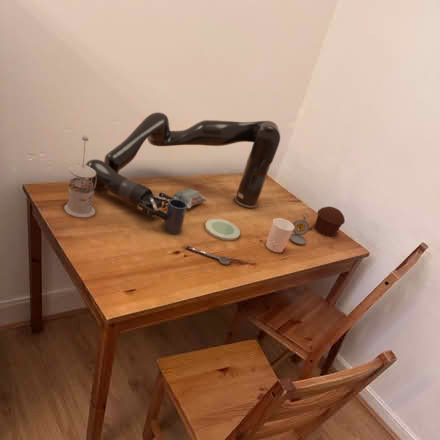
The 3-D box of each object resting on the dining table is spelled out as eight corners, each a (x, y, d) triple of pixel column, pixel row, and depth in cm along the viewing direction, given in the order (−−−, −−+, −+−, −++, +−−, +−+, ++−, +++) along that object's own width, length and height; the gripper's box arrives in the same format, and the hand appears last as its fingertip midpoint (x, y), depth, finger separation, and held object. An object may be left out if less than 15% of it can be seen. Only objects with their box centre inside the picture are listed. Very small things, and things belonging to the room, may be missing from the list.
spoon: (186, 245, 144) (187, 242, 143) (230, 260, 144) (231, 258, 143) (183, 250, 141) (184, 248, 140) (228, 266, 141) (229, 264, 140)
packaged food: (206, 205, 170) (208, 193, 167) (187, 212, 161) (190, 201, 158) (188, 195, 172) (191, 184, 170) (169, 202, 164) (172, 190, 161)
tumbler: (166, 222, 152) (171, 197, 146) (183, 228, 152) (189, 203, 146) (160, 230, 147) (166, 204, 141) (177, 236, 147) (184, 210, 141)
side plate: (209, 217, 163) (210, 214, 162) (242, 228, 163) (242, 226, 162) (201, 232, 153) (201, 230, 152) (235, 244, 152) (236, 242, 152)
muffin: (337, 228, 185) (347, 208, 179) (338, 241, 176) (349, 220, 170) (311, 220, 185) (320, 199, 179) (310, 232, 176) (320, 210, 170)
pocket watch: (294, 246, 163) (304, 223, 157) (283, 233, 168) (292, 211, 162) (311, 245, 167) (321, 223, 161) (299, 233, 173) (308, 211, 167)
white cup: (286, 246, 161) (296, 223, 155) (282, 256, 155) (292, 232, 149) (266, 238, 162) (275, 215, 156) (261, 247, 156) (271, 224, 150)
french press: (57, 208, 140) (60, 133, 125) (79, 197, 149) (85, 125, 134) (83, 220, 139) (89, 145, 124) (104, 208, 148) (112, 137, 133)
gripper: (123, 189, 141) (165, 210, 138) (148, 178, 152) (187, 197, 149) (121, 209, 146) (160, 230, 142) (145, 197, 157) (182, 216, 153)
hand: (174, 213), depth 146 cm, fingers open, 8 cm apart
